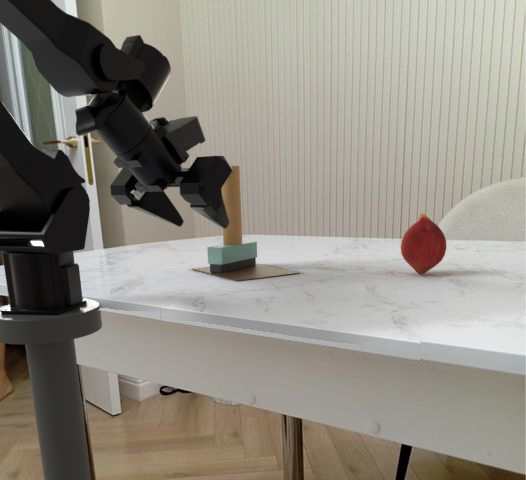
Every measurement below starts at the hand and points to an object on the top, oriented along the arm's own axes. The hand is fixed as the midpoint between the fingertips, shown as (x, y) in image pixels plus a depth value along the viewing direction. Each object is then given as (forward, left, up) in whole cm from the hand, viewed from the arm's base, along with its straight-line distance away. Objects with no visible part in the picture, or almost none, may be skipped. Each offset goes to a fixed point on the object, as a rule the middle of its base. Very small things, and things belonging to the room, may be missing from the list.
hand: (203, 225), depth 82 cm
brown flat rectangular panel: (+5, +3, -7) cm, 9 cm away
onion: (+30, +1, -7) cm, 31 cm away
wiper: (+3, +5, -7) cm, 9 cm away
